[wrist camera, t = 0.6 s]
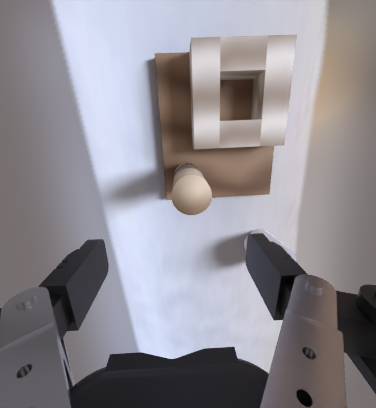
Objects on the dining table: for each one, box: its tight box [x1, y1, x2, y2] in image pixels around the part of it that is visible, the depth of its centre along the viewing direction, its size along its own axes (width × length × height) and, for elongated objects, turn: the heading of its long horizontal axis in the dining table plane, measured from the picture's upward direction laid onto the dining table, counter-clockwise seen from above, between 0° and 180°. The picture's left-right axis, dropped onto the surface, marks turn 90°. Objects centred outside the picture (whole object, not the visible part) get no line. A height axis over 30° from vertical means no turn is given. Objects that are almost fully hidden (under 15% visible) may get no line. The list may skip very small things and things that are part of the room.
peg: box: [172, 163, 212, 215], centre depth 25 cm, size 4×4×12 cm
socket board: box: [155, 35, 297, 200], centre depth 28 cm, size 20×17×6 cm
